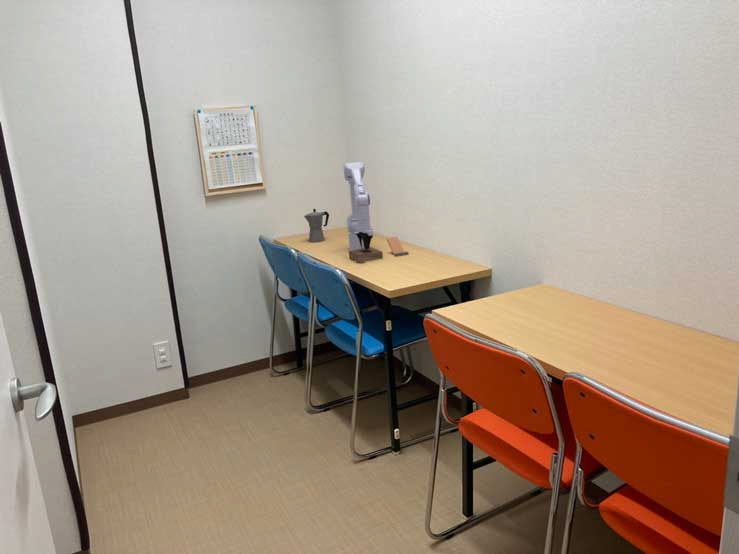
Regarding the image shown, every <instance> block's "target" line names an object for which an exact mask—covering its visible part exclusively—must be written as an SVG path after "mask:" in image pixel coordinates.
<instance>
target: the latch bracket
mask: <svg viewBox="0 0 739 554" xmlns="http://www.w3.org/2000/svg"><path fill="white" fill-rule="evenodd" d="M408 255H410V253H409V251H404V252H401V253H395V254H393V256H394V257H395V258H396V257H397V258H398V257H404V256H408Z"/></svg>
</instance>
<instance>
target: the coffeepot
mask: <svg viewBox="0 0 739 554" xmlns="http://www.w3.org/2000/svg"><path fill="white" fill-rule="evenodd" d="M312 211H313V212H310V213H307V214H306V215H304V216H303V218H305V220H306V221H307V222H308V226H309V236H308V241H309V243H321V242H325V235H324V231H323V227H326V226H328V223H329V219H330V214H329V212H328V211H321V212H318V211H317V209H316V208H313V210H312ZM323 216H325V221H324V222H325V223H324V224H323V219H324V218H323Z"/></svg>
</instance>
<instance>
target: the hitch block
mask: <svg viewBox="0 0 739 554" xmlns="http://www.w3.org/2000/svg"><path fill="white" fill-rule="evenodd" d="M383 253H384V252H383V251H382V250H380V249H377V248H375V247H372V246H370V247H369V252H364V253H363V252H362V249H357V250H348V256H349V257H348V258H349V260H351V261H353V260H354V261H353V262H355V261H356V262H355V263H357V262H358V263H357V264H359V263H361V264H366V262H370V261H375V260H381V259H384V256H383V255H384V254H383Z"/></svg>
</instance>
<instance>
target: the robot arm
mask: <svg viewBox="0 0 739 554" xmlns="http://www.w3.org/2000/svg"><path fill="white" fill-rule="evenodd" d="M365 170H366V169H365V164H364V162H363V161H355V162H344V163H343V177H344V180H346V181H347V182H348V184H349V192H350V202H351V203H350V204H351V212H352V213H351V214H350V215H349V216H348V217H347V220H346V221H347V224H346V225H347V231H348V233H350V235H349V236H348V245H349V247H348V248H347V249H348V251H351V250H357V249H362V240H363V243H364V248H365V249H369V247H371V246H370V245H371V242H372V238H373V237H374V231H373V227H371V221H370V206H371V205H370V204H371V198H370V197H371V196H370V194H369V192H368V191H367V187H366V184H365V183H363V178H364V176H365ZM361 238H362V240H361Z"/></svg>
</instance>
